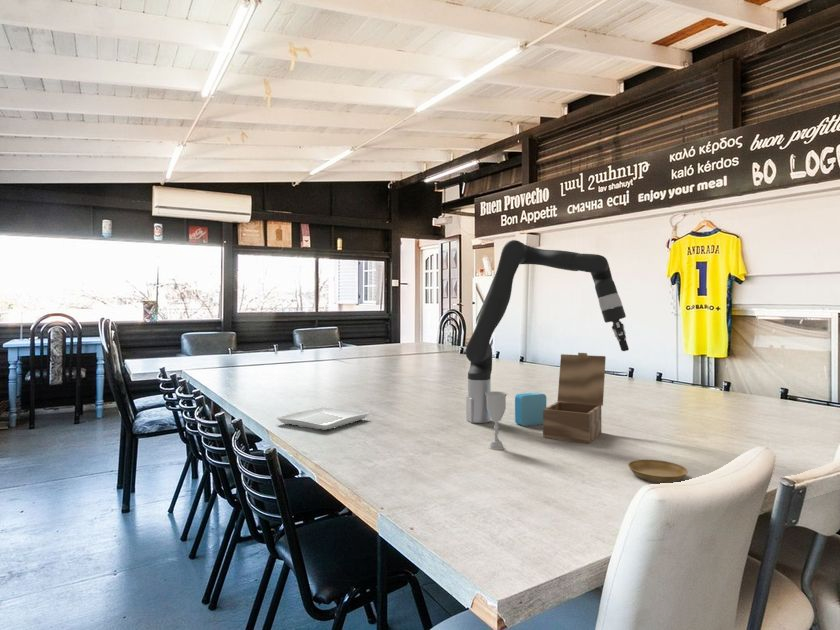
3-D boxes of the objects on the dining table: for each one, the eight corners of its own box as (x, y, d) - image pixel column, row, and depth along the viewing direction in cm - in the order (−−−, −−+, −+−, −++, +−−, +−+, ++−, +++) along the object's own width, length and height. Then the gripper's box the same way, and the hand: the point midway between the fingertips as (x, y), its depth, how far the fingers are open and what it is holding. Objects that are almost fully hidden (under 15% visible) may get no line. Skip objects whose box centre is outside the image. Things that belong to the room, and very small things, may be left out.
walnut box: (558, 427, 194) (558, 401, 194) (601, 432, 186) (601, 405, 185) (543, 437, 179) (543, 409, 179) (589, 443, 170) (589, 414, 170)
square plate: (371, 420, 209) (371, 411, 209) (325, 435, 186) (325, 424, 186) (322, 414, 223) (322, 405, 223) (274, 426, 200) (274, 416, 200)
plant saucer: (660, 489, 127) (660, 479, 127) (616, 472, 141) (616, 463, 141) (700, 481, 133) (700, 471, 133) (654, 465, 147) (654, 456, 147)
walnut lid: (556, 401, 193) (558, 401, 195) (601, 405, 185) (602, 405, 186) (560, 351, 197) (562, 352, 199) (604, 353, 189) (605, 354, 190)
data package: (539, 421, 204) (539, 392, 204) (546, 423, 200) (546, 393, 200) (514, 424, 200) (514, 394, 200) (521, 426, 196) (521, 395, 196)
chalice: (509, 445, 168) (508, 392, 168) (505, 451, 162) (505, 395, 161) (487, 444, 170) (487, 391, 170) (483, 449, 164) (483, 394, 164)
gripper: (601, 311, 192) (614, 353, 190) (601, 309, 179) (615, 353, 176) (621, 306, 190) (634, 347, 187) (623, 303, 176) (637, 348, 174)
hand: (625, 350), depth 182 cm, fingers open, 8 cm apart
